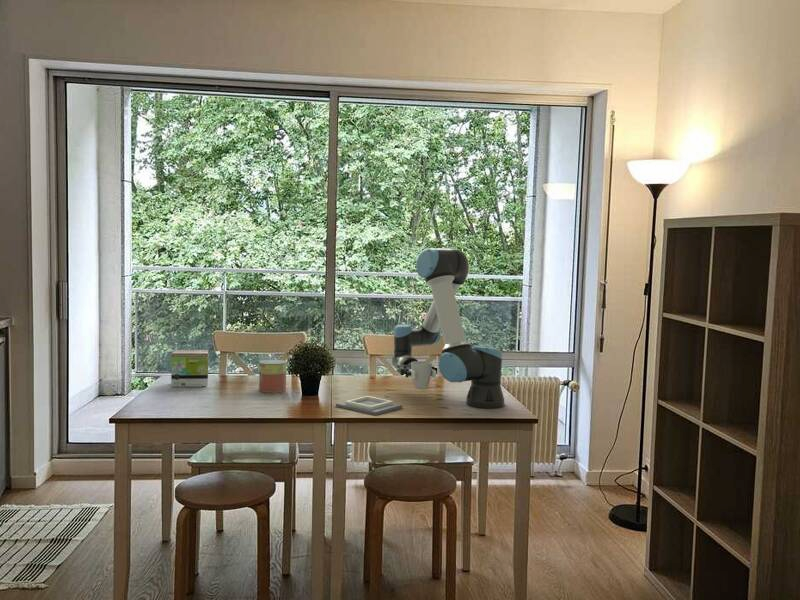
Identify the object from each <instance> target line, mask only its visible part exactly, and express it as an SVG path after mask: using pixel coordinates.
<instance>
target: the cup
mask: <svg viewBox="0 0 800 600" xmlns="http://www.w3.org/2000/svg"><path fill="white" fill-rule="evenodd" d="M432 366H433V363H432V362H431V361H425V360H418V361H414V362H411V370H413V371H415V372H416V373H415V379H413V378H411V380H412V383H413V388H414V389H416V390H427V389H428V388H429V385H430V381H431V368H432Z"/></svg>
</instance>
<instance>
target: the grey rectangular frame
mask: <svg viewBox="0 0 800 600" xmlns="http://www.w3.org/2000/svg"><path fill="white" fill-rule="evenodd" d="M336 406H337V408H340V407H342V408H341V409H345V408H346V409H345V410H349V409H351V410H350V411H354V410H356V411H355V412H358V411H359V412H360V413H364V414H369V415H373V416H378V415H382V414H385V413H388V412H389V411H390V412H392V410H393V411H397V410H400V409H403V404H399V403H396V402H395V403H394V400H390V399H384V398H379V397H375V396H370V395H365V396H361V397H358V398H354V399H348V400H344V401H341V402H337V403H335V407H336ZM399 408H400V409H399ZM396 409H397V410H396Z"/></svg>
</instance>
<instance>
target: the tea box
mask: <svg viewBox="0 0 800 600" xmlns="http://www.w3.org/2000/svg"><path fill="white" fill-rule="evenodd" d="M170 370H171V371H170V372H171V373H170V375H171V376H170V379H171V380H170V381H171V382H170V384H171V385H170V386H171V388H176V387H178V388H182V387H184V388H185V387H188V388H190V387H193V388H195V387H197V388H199V387H200V388H201V387H202V386H207V387H208V381H209V349H173V350H172V353H171V369H170ZM202 388H203V387H202Z"/></svg>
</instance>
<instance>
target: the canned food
mask: <svg viewBox="0 0 800 600" xmlns="http://www.w3.org/2000/svg"><path fill="white" fill-rule="evenodd" d="M258 363H259V369H258V371H259V372H258V375H259V377H258V379H259V380H258V382H259V385H258V391H259V392H261V391H262V393H269V392H275V393H281V392H282V391H283V392H285V391H286V390H287V361H286V360H284V359H275V358H274V359H272V358H271V359H262V360H259V362H258Z"/></svg>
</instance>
